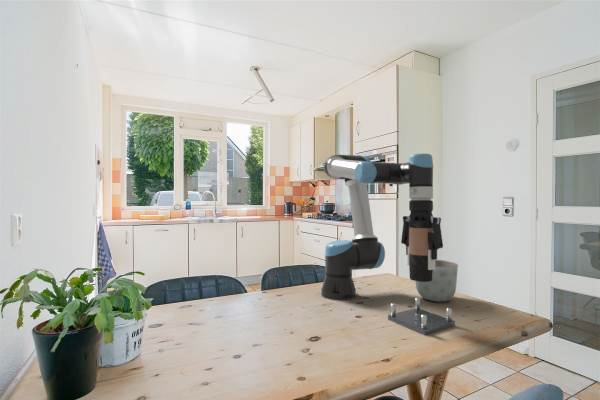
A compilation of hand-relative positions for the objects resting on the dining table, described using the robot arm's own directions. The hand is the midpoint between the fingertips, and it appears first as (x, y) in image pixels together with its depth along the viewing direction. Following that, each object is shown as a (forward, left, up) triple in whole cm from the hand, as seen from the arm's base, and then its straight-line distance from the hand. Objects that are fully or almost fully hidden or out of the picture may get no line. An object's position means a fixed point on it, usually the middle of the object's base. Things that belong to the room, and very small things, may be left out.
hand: (421, 267), depth 108 cm
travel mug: (0, 0, -4) cm, 4 cm away
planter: (-15, +28, -19) cm, 37 cm away
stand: (0, 0, -19) cm, 19 cm away
